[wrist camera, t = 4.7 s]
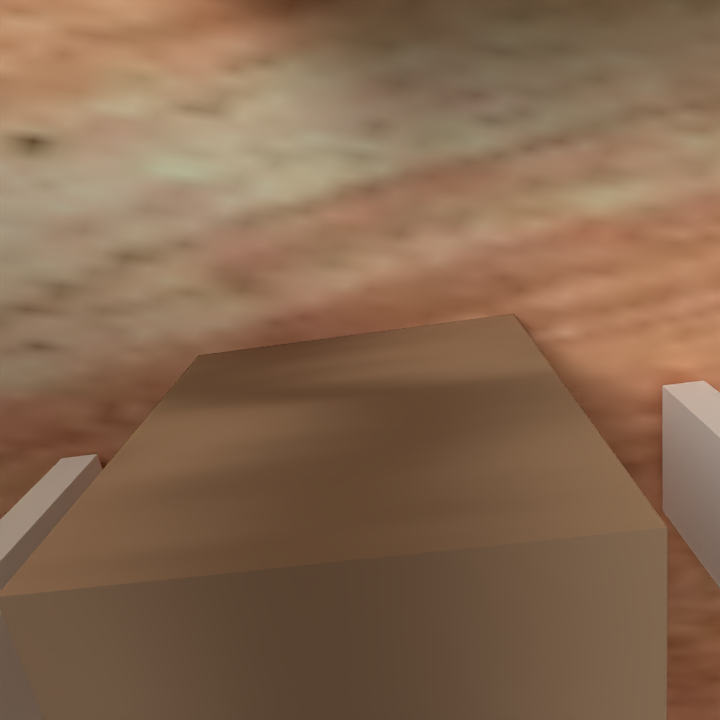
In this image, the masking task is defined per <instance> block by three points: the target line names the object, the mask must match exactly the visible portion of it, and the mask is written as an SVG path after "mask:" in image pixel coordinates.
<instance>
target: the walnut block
mask: <svg viewBox="0 0 720 720" xmlns="http://www.w3.org/2000/svg"><path fill="white" fill-rule="evenodd" d="M667 563H668V527H667V526H666V525H665V523H664V522H663V520H662V519H661V518H660V516H659V515H658V513H657V512H656V511H655V509H654V508H653V507H652V505H651V504H650V502H649V501H648V500H647V498H646V497H645V495H644V494H643V493H642V491H641V490H640V489H639V487H638V486H637V484H636V483H635V482H634V480H633V479H632V477H631V476H630V475H629V473H628V472H627V471H626V469H625V468H624V466H623V465H622V464H621V462H620V461H619V459H618V458H617V457H616V455H615V454H614V453H613V451H612V450H611V448H610V447H609V446H608V444H607V443H606V441H605V440H604V439H603V437H602V436H601V435H600V433H599V432H598V430H597V429H596V428H595V426H594V425H593V423H592V422H591V421H590V419H589V418H588V417H587V415H586V414H585V412H584V411H583V410H582V408H581V407H580V405H579V404H578V403H577V401H576V400H575V398H574V397H573V396H572V394H571V393H570V392H569V390H568V389H567V387H566V386H565V385H564V383H563V382H562V380H561V379H560V378H559V376H558V375H557V374H556V372H555V371H554V369H553V368H552V367H551V365H550V364H549V362H548V361H547V360H546V358H545V357H544V356H543V354H542V353H541V351H540V350H539V349H538V347H537V346H536V344H535V343H534V342H533V340H532V339H531V338H530V336H529V335H528V333H527V332H526V331H525V329H524V328H523V326H522V325H521V324H520V322H519V321H518V320H517V318H516V317H515V315H514V314H510V315H502V316H495V317H487V318H479V319H472V320H464V321H457V322H449V323H441V324H434V325H426V326H419V327H411V328H403V329H396V330H388V331H381V332H373V333H366V334H358V335H350V336H343V337H335V338H328V339H320V340H312V341H305V342H297V343H290V344H282V345H274V346H267V347H259V348H252V349H244V350H236V351H229V352H221V353H214V354H206V355H199V356H198V357H197V358H196V360H195V361H194V362H193V363H192V364H191V365H190V367H189V368H188V369H187V370H186V371H185V373H184V374H183V375H182V376H181V377H180V379H179V380H178V381H177V382H176V383H175V384H174V386H173V387H172V388H171V389H170V390H169V392H168V393H167V394H166V395H165V396H164V398H163V399H162V400H161V401H160V402H159V403H158V405H157V406H156V407H155V408H154V409H153V411H152V412H151V413H150V414H149V415H148V417H147V418H146V419H145V420H144V421H143V422H142V424H141V425H140V426H139V427H138V428H137V430H136V431H135V432H134V433H133V434H132V436H131V437H130V438H129V439H128V440H127V441H126V443H125V444H124V445H123V446H122V447H121V449H120V450H119V451H118V452H117V453H116V454H115V456H114V457H113V458H112V459H111V460H110V462H109V463H108V464H107V465H106V466H105V468H104V469H103V470H102V471H101V472H100V473H99V475H98V476H97V477H96V478H95V479H94V481H93V482H92V483H91V484H90V485H89V487H88V488H87V489H86V490H85V491H84V492H83V494H82V495H81V496H80V497H79V498H78V500H77V501H76V502H75V503H74V504H73V506H72V507H71V508H70V509H69V510H68V511H67V513H66V514H65V515H64V516H63V517H62V519H61V520H60V521H59V522H58V523H57V525H56V526H55V527H54V528H53V529H52V530H51V532H50V533H49V534H48V535H47V536H46V538H45V539H44V540H43V541H42V542H41V544H40V545H39V546H38V547H37V548H36V549H35V551H34V552H33V553H32V554H31V555H30V557H29V558H28V559H27V560H26V561H25V563H24V564H23V565H22V566H21V567H20V568H19V570H18V571H17V572H16V573H15V574H14V576H13V577H12V578H11V579H10V580H9V582H8V583H7V584H6V585H5V586H4V587H3V589H2V590H1V591H0V611H1V613H2V616H3V618H4V621H5V623H6V626H7V628H8V631H9V633H10V636H11V638H12V641H13V643H14V646H15V649H16V651H17V654H18V656H19V659H20V661H21V664H22V666H23V669H24V671H25V674H26V676H27V679H28V682H29V684H30V687H31V689H32V692H33V694H34V697H35V699H36V702H37V704H38V707H39V709H40V712H41V715H42V717H43V720H667Z"/></svg>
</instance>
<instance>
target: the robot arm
mask: <svg viewBox="0 0 720 720" xmlns="http://www.w3.org/2000/svg"><path fill="white" fill-rule="evenodd" d="M662 453H663V512H664V514H665V515H666V516H667V518H668V519H669V520H670V522H671V523H672V524H673V526H674V527H675V529H676V530H677V531H678V533H679V534H680V535H681V537H682V538H683V539H684V541H685V542H686V543H687V545H688V546H689V548H690V549H691V550H692V552H693V553H694V554H695V556H696V557H697V558H698V560H699V561H700V563H701V564H702V565H703V567H704V568H705V569H706V571H707V572H708V573H709V575H710V576H711V578H712V579H713V580H714V582H715V583H716V584H717V586H718V587H719V588H720V392H718V391H717V390H716V389H714V388H713V387H712V386H711V385H709V384H708V383H707V382H705V381H696V382H687V383H679V384H671V385H662ZM101 471H102V467H101V464H100V461H99V458H98V454H93V455H84V456H76V457H68V458H61V459H60V460H59V461H58V462H57V463H56V464H55V465H54V466H53V467H52V468H51V469H50V470H49V471H48V472H47V473H46V474H45V475H44V476H43V477H42V478H41V479H40V480H39V481H38V482H37V483H36V484H35V485H34V486H33V487H32V488H31V489H30V490H29V491H28V492H27V493H26V494H25V495H24V496H23V497H22V498H21V499H20V500H19V501H18V502H17V503H16V504H15V505H14V506H13V507H12V508H11V509H10V510H9V511H8V512H7V513H6V514H5V515H4V516H3V517H2V518H1V519H0V591H1V590H2V589H3V587H4V586H5V585H6V584H7V583H8V582H9V580H10V579H11V578H12V577H13V576H14V574H15V573H16V572H17V571H18V570H19V568H20V567H21V566H22V565H23V564H24V563H25V561H26V560H27V559H28V558H29V557H30V555H31V554H32V553H33V552H34V551H35V549H36V548H37V547H38V546H39V545H40V544H41V542H42V541H43V540H44V539H45V538H46V536H47V535H48V534H49V533H50V532H51V530H52V529H53V528H54V527H55V526H56V525H57V523H58V522H59V521H60V520H61V519H62V517H63V516H64V515H65V514H66V513H67V511H68V510H69V509H70V508H71V507H72V506H73V504H74V503H75V502H76V501H77V500H78V498H79V497H80V496H81V495H82V494H83V492H84V491H85V490H86V489H87V488H88V487H89V485H90V484H91V483H92V482H93V481H94V479H95V478H96V477H97V476H98V475H99V473H100V472H101ZM0 720H43V717H42V715H41V712H40V709H39V707H38V704H37V702H36V699H35V697H34V694H33V692H32V689H31V687H30V684H29V682H28V679H27V676H26V674H25V671H24V669H23V666H22V664H21V661H20V659H19V656H18V654H17V651H16V649H15V646H14V643H13V641H12V638H11V636H10V633H9V631H8V628H7V626H6V623H5V621H4V618H3V616H2V613H1V611H0Z"/></svg>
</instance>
